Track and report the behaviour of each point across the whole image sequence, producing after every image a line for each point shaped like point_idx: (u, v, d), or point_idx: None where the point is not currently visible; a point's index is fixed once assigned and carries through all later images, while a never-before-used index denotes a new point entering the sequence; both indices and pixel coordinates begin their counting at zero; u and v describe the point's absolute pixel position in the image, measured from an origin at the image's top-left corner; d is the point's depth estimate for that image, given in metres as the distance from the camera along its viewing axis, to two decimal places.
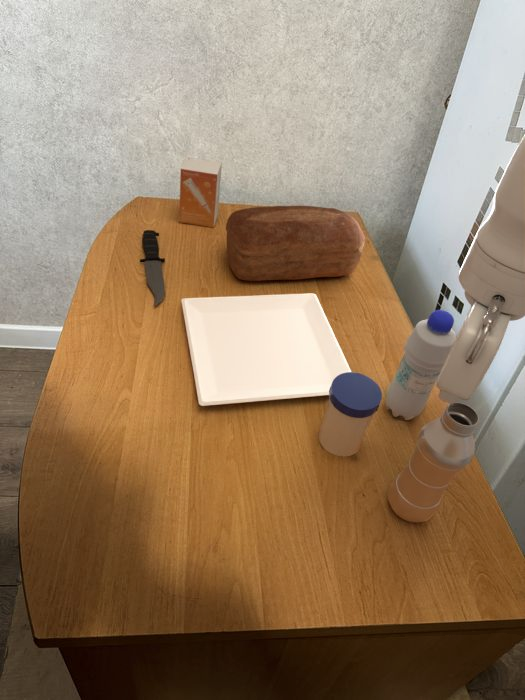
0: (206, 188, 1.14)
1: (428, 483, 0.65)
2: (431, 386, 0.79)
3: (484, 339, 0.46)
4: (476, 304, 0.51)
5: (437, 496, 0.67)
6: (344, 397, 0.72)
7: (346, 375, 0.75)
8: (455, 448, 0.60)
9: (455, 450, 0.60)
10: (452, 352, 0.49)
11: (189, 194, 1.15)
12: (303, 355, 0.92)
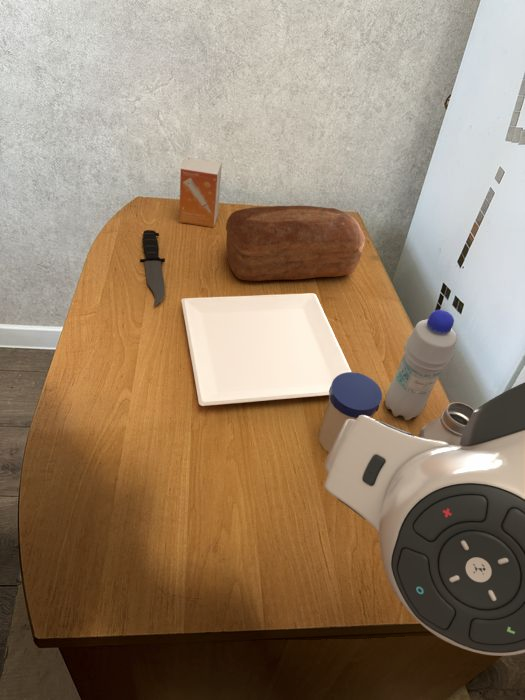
0: (207, 188, 1.14)
1: None
2: (431, 386, 0.79)
3: None
4: None
5: None
6: (344, 397, 0.72)
7: (346, 375, 0.75)
8: None
9: None
10: None
11: (189, 194, 1.15)
12: (303, 355, 0.92)
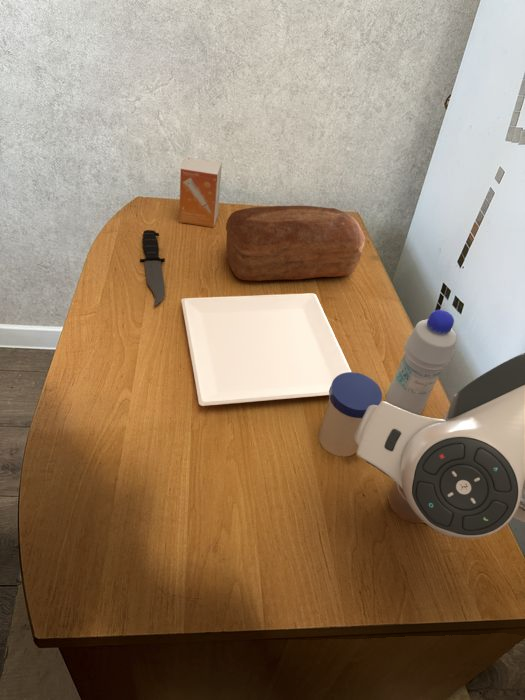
0: (206, 188, 1.14)
1: None
2: (431, 386, 0.79)
3: None
4: None
5: None
6: (344, 397, 0.72)
7: (346, 375, 0.75)
8: None
9: None
10: None
11: (189, 194, 1.15)
12: (303, 355, 0.92)
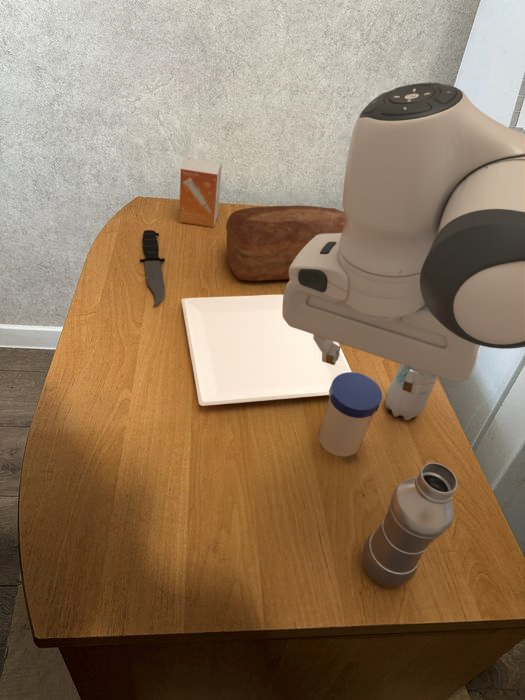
0: (206, 188, 1.14)
1: (402, 549, 0.58)
2: (431, 386, 0.79)
3: None
4: (421, 311, 0.48)
5: (413, 561, 0.60)
6: (344, 397, 0.72)
7: (346, 375, 0.75)
8: (431, 515, 0.53)
9: (430, 517, 0.53)
10: (473, 349, 0.48)
11: (189, 194, 1.15)
12: (303, 355, 0.92)
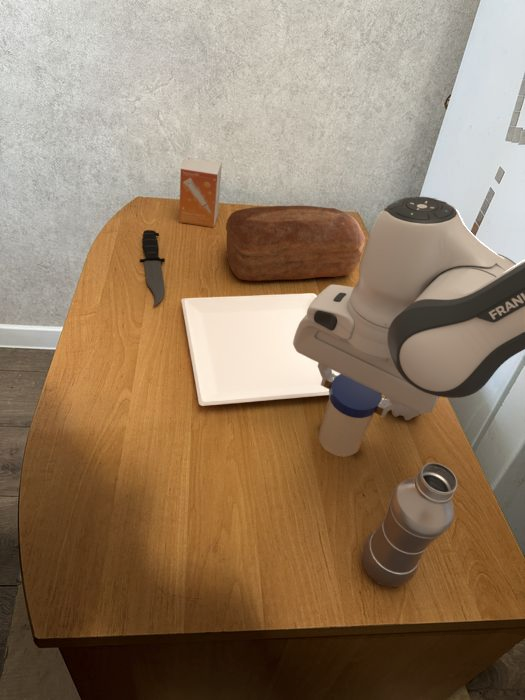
0: (206, 188, 1.14)
1: (402, 549, 0.58)
2: None
3: None
4: None
5: (413, 561, 0.60)
6: (344, 397, 0.72)
7: None
8: (431, 515, 0.53)
9: (430, 517, 0.53)
10: None
11: (189, 194, 1.15)
12: (303, 355, 0.92)
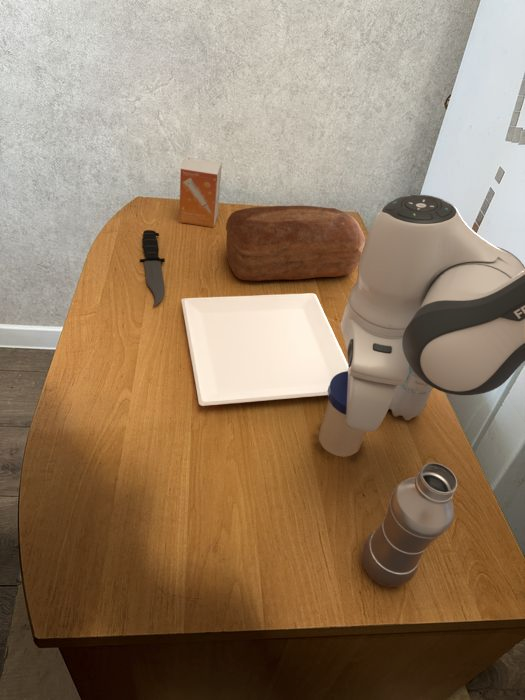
0: (206, 188, 1.14)
1: (402, 549, 0.58)
2: None
3: None
4: None
5: (413, 561, 0.60)
6: None
7: (341, 399, 0.71)
8: (431, 515, 0.53)
9: (430, 517, 0.53)
10: None
11: (189, 194, 1.15)
12: (303, 355, 0.92)
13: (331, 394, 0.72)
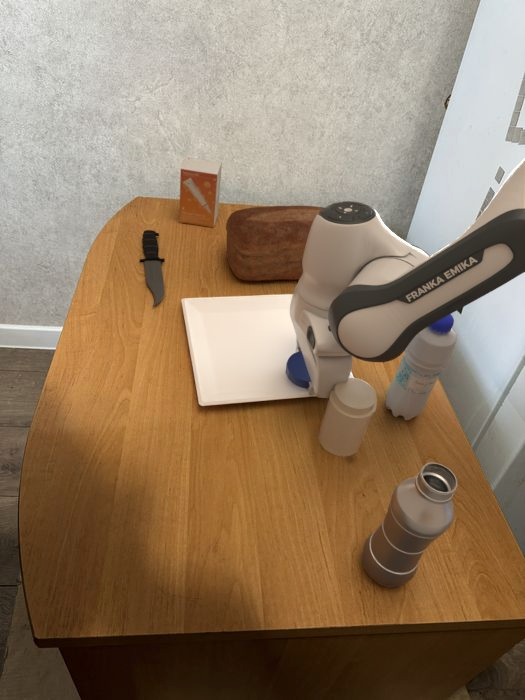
0: (206, 188, 1.14)
1: (402, 549, 0.58)
2: (431, 386, 0.79)
3: None
4: None
5: (413, 561, 0.60)
6: None
7: (301, 377, 0.83)
8: (431, 515, 0.53)
9: (430, 517, 0.53)
10: None
11: (189, 194, 1.15)
12: None
13: (291, 374, 0.84)
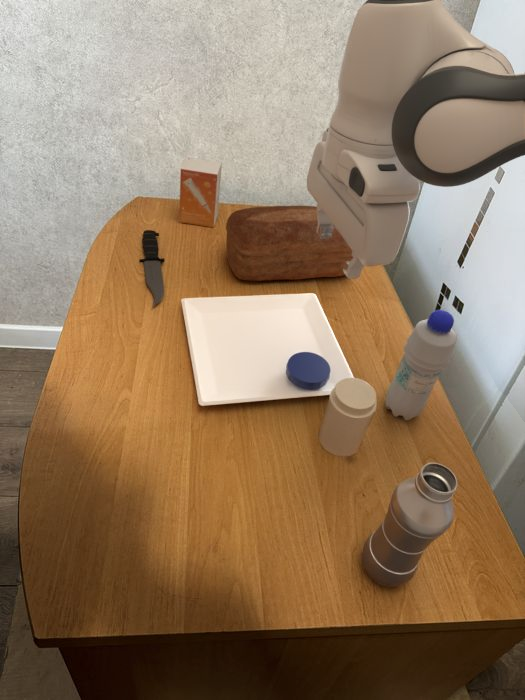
0: (206, 188, 1.14)
1: (402, 549, 0.58)
2: (431, 386, 0.79)
3: (325, 130, 0.69)
4: None
5: (413, 561, 0.60)
6: (323, 370, 0.85)
7: (301, 378, 0.83)
8: (431, 515, 0.53)
9: (430, 517, 0.53)
10: None
11: (189, 194, 1.15)
12: None
13: (291, 375, 0.84)
